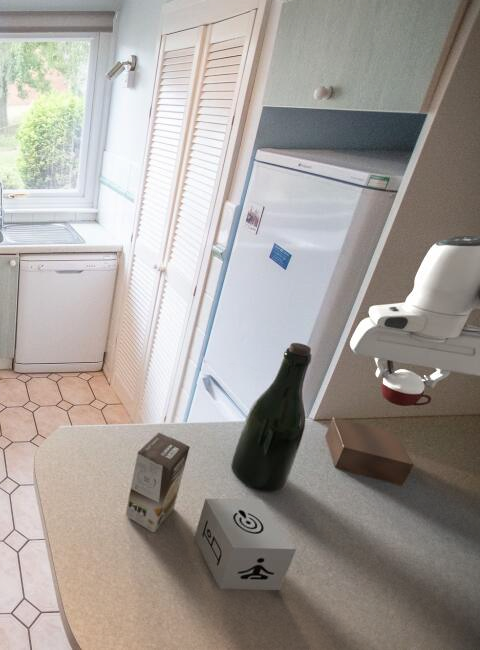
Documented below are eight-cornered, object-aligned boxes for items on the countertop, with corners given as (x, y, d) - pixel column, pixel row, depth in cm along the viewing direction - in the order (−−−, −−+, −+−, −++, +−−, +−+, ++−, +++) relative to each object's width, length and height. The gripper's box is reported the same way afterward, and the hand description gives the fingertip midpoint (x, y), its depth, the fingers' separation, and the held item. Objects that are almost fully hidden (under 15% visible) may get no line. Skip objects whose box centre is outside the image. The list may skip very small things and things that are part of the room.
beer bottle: (295, 484, 98) (346, 351, 85) (265, 501, 94) (314, 364, 81) (249, 454, 107) (289, 329, 93) (219, 468, 103) (257, 340, 89)
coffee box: (155, 534, 87) (170, 470, 80) (124, 515, 91) (136, 453, 84) (175, 507, 93) (190, 446, 86) (145, 490, 97) (158, 430, 90)
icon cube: (194, 537, 86) (205, 498, 82) (247, 539, 86) (261, 500, 82) (219, 588, 77) (233, 547, 73) (279, 590, 77) (296, 549, 73)
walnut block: (386, 451, 108) (396, 431, 105) (402, 486, 98) (414, 464, 95) (324, 436, 113) (332, 416, 110) (334, 467, 103) (343, 447, 100)
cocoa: (431, 412, 90) (457, 360, 85) (402, 414, 90) (427, 362, 85) (386, 386, 99) (407, 337, 94) (359, 388, 98) (379, 339, 93)
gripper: (497, 323, 85) (465, 386, 90) (360, 305, 93) (339, 362, 99) (515, 337, 80) (479, 402, 85) (369, 316, 88) (345, 376, 94)
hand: (403, 381), depth 92 cm, fingers closed on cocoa, 6 cm apart
